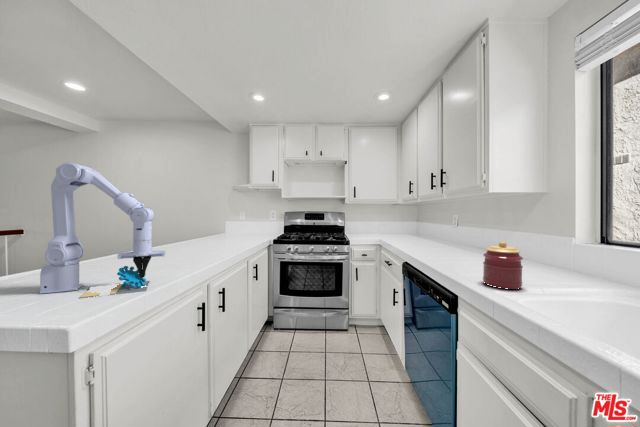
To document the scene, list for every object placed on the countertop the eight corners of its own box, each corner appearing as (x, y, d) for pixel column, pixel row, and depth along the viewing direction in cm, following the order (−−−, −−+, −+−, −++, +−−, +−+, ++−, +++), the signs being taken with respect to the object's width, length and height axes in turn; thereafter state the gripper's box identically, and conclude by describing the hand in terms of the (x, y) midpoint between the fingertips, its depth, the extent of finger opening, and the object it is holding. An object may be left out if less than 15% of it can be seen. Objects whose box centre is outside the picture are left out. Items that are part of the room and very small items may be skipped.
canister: (479, 285, 105) (480, 241, 105) (486, 279, 115) (487, 238, 115) (520, 292, 97) (521, 244, 96) (524, 285, 106) (525, 241, 106)
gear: (129, 287, 91) (114, 265, 93) (117, 299, 91) (102, 277, 93) (154, 283, 101) (140, 263, 103) (143, 294, 102) (130, 274, 104)
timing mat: (78, 300, 84) (78, 298, 84) (91, 287, 97) (91, 286, 97) (146, 292, 93) (146, 290, 93) (149, 282, 106) (149, 280, 106)
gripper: (115, 242, 91) (115, 281, 91) (164, 240, 98) (164, 277, 98) (119, 240, 97) (119, 277, 98) (165, 238, 104) (165, 273, 104)
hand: (142, 277), depth 98 cm, fingers closed
